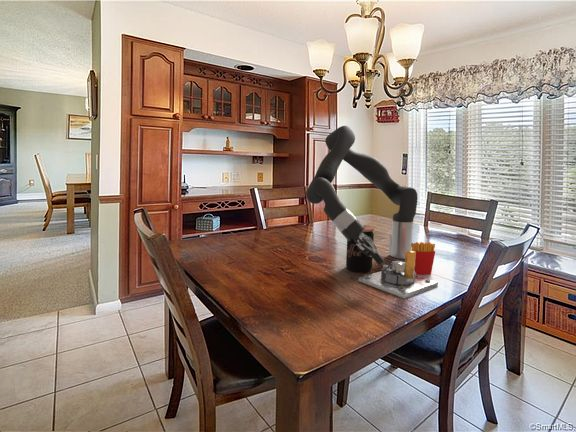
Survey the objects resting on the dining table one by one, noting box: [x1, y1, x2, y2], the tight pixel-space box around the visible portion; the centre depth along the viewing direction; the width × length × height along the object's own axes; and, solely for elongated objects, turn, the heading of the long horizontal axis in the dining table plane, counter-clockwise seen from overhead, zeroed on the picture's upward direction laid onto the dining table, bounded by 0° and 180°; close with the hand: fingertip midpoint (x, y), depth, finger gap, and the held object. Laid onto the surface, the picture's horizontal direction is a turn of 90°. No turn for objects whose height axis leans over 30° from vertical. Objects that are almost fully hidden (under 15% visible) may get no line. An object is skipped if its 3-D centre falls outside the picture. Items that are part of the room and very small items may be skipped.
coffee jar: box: [345, 224, 375, 274], centre depth 143 cm, size 11×11×18 cm
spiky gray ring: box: [381, 249, 417, 284], centre depth 123 cm, size 17×11×13 cm, turn 2°
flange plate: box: [358, 260, 439, 299], centre depth 127 cm, size 20×20×8 cm
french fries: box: [411, 241, 436, 276], centre depth 139 cm, size 9×4×13 cm, turn 86°
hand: (381, 262), depth 119 cm, fingers closed
